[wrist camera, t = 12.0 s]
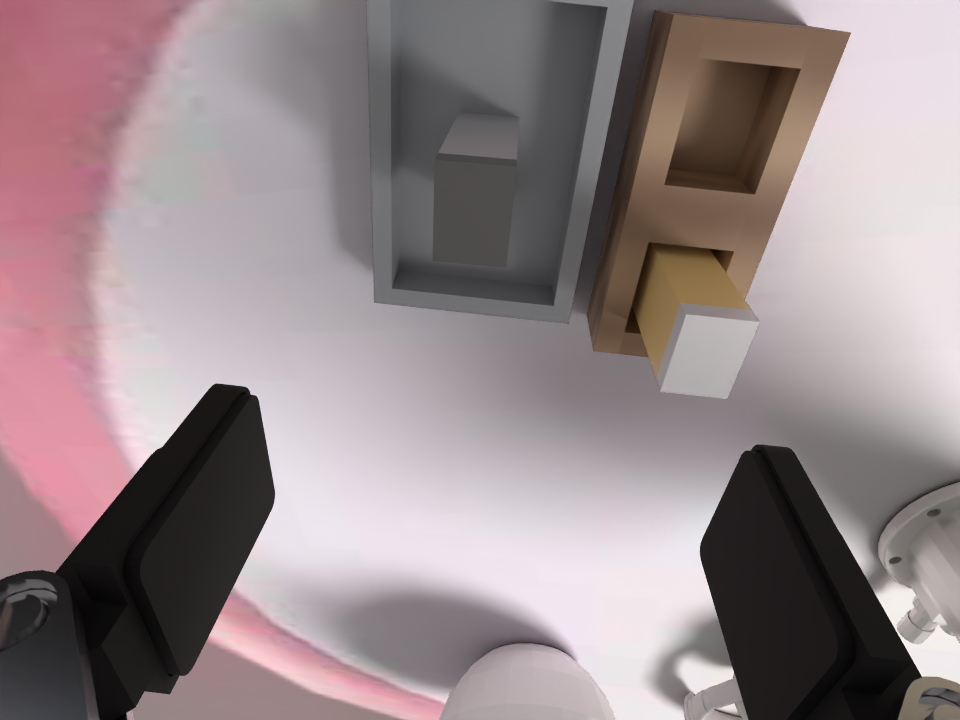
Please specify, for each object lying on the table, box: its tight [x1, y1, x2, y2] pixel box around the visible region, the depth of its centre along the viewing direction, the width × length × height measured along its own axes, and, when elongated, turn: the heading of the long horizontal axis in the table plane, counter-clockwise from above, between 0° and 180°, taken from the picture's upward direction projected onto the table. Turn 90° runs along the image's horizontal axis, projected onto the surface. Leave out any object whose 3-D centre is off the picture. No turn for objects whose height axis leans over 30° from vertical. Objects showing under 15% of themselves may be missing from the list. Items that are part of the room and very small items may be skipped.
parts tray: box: [367, 0, 634, 324], centre depth 28 cm, size 16×11×3 cm
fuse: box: [632, 242, 760, 399], centre depth 28 cm, size 4×3×9 cm
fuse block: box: [587, 10, 851, 357], centre depth 28 cm, size 16×7×4 cm, turn 175°
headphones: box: [684, 673, 748, 720], centre depth 54 cm, size 18×8×20 cm
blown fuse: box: [433, 112, 519, 268], centre depth 25 cm, size 4×3×9 cm
